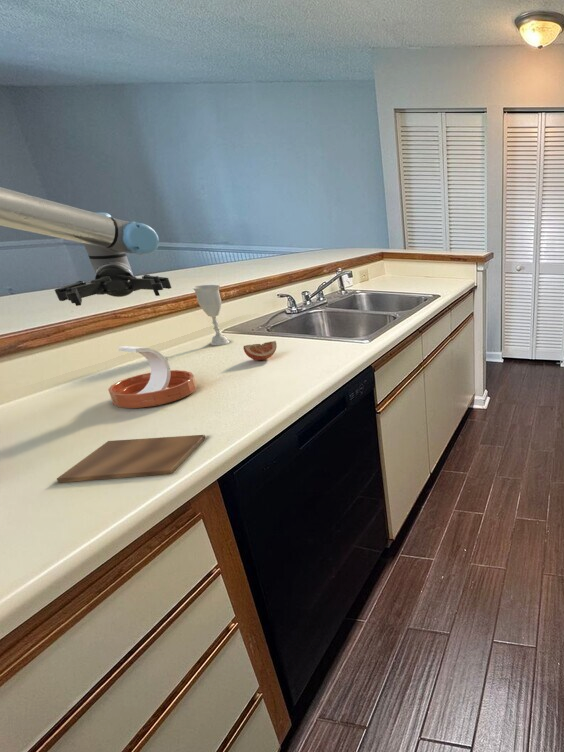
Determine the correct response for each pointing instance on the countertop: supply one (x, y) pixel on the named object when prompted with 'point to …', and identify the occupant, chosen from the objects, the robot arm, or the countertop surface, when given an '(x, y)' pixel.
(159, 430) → the countertop surface
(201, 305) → the chalice
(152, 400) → the bowl
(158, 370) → the headphone stand
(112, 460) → the wooden board
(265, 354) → the fruit slice
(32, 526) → the countertop surface
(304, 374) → the countertop surface
